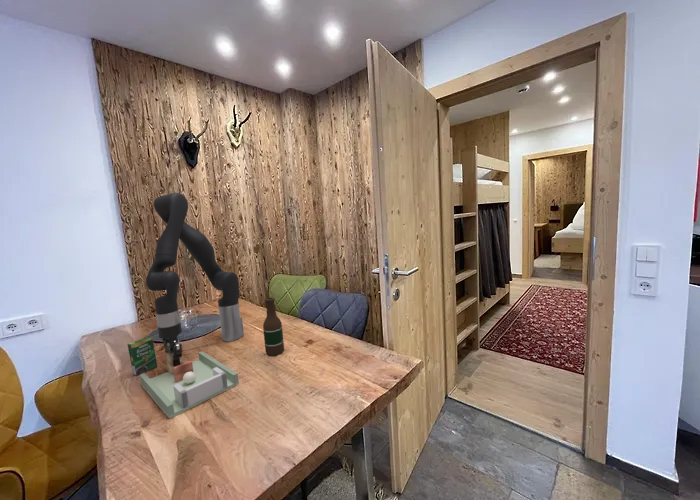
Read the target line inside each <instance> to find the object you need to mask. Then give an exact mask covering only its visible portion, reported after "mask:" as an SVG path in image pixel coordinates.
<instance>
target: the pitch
mask: <svg viewBox="0 0 700 500" xmlns="http://www.w3.org/2000/svg"><path fill="white" fill-rule="evenodd" d="M192 364H193V372H194V373H195V375H196V377H195V380H194V381H193V382H192V383H190V384H186V383H184V381H183V379H182V380H180V381H177V382H176V381H175V380H174V373H173V374H171V373H170V372H169V371H166V372H163V373H162V374H159V375H157V376H154V377H151V378H150V377H149V376H148V375H147V374H146V372H145V373H143V374H140V375H139V380H140V386H142V388H143V389H144V390H145V391H146V392H147V394H148V395H149V397H150V398H151V399H152V400H153V401H154V402H155V403H156V405H157V406H158V407H159V409H161V411H162V412H163V413H164V415H165V416H166V417H167V418H168V419H169V420H170V419H172V418H174V417H177V416H178V415H180V414H182V413H184V412H187V411H188V410H190V409H192V408H194V407H196V406H198V405H200V404H202V403H204V402H206V401H208V400H210V399H212V398H214V397H215V396H218V395H220V394H223V393H224V392H225V391H226V392H227V391H228V390H230V389H231V388H234V387H236V386H238V385H240V382H239V374H238V372H236V371H235V370H233V369H231V368H230V367H228V366H226V365H225V364H223V362H222V363H221V362H220V361H219V360H217V359H215V358H214V357H212V356H211V355H209V354H207V353H206V352H204V351H203V350H202V351H198V359H197V360H195V361H192ZM216 367H217V368H219V369H221V370H222V371H224V372H225V373H226V378H227V386H228V387H226V388H224V389H222V390H220V391H218V392H216V393H214V394H212V395H210V396H208V397H206V398H204V399H202V400H200V401H198V402H196V403H194V404H192V405H190V406H188V407H186V408H184V409H183V408H182V407H181V406H180V405H179V404H178V402H177V401H176V400H175V394H174V388H173V386H174V385H176V384H179V385H181V386H182V387H183V388H184V389H187V388H189V387H191V386H193V385H196V384H198V383H200V382H202V381H204V380H207V379H209V378H211V377H213V368H216Z"/></svg>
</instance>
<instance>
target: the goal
mask: <svg viewBox="0 0 700 500" xmlns="http://www.w3.org/2000/svg"><path fill="white" fill-rule="evenodd" d="M226 387H228V386H227V378H226V373H225V372H224V371H222V370H221V369H219V368H217V367H216V368H213V377H211V378H209V379H207V380H204V381H202V382H200V383H198V384H196V385H193V386H191V387H189V388H187V389H184V388H183V387H182V386H181V385H179V384H176V385H174V386H173V388H174V394H175V400H176V401H177V402H178V404H179V405H180V406H181V407H182V408H183V409H184V408H186V407H188V406H190V405H192V404H194V403H196V402H198V401H200V400H202V399H204V398H206V397H208V396H210V395H212V394H214V393H216V392H218V391H220V390H222V389H224V388H226Z"/></svg>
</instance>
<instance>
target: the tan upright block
mask: <svg viewBox="0 0 700 500" xmlns="http://www.w3.org/2000/svg"><path fill="white" fill-rule="evenodd" d="M176 355H178V354H176ZM165 357H166V364H167V372H170V373H171V374H173V373H174V380H175V381H176V382H177V381H180V380H182V379H183V376H184V374H185V373H187V372H193V364H192V362H193V361H192V360H189V361H186V362H183V357H180V364H181V365H178V366H175V367H174V366H173V359H172V355H171V354H170V353H165Z"/></svg>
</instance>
